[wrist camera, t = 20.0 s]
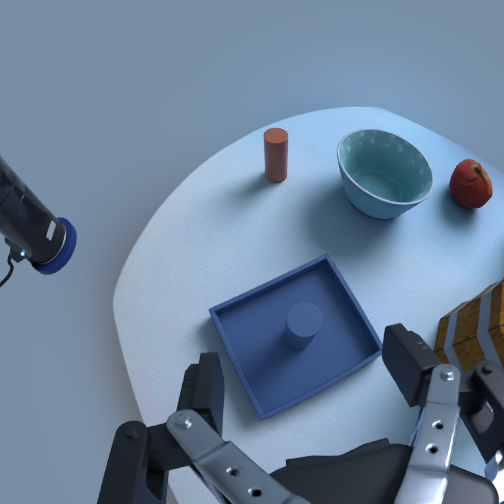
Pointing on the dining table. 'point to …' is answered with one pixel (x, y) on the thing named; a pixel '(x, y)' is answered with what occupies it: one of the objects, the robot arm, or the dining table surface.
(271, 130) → the terracotta peg
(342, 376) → the blue tray
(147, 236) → the dining table surface
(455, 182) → the red round fruit
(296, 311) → the blue peg
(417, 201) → the bowl
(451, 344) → the wooden banded barrel
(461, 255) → the dining table surface
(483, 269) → the dining table surface
